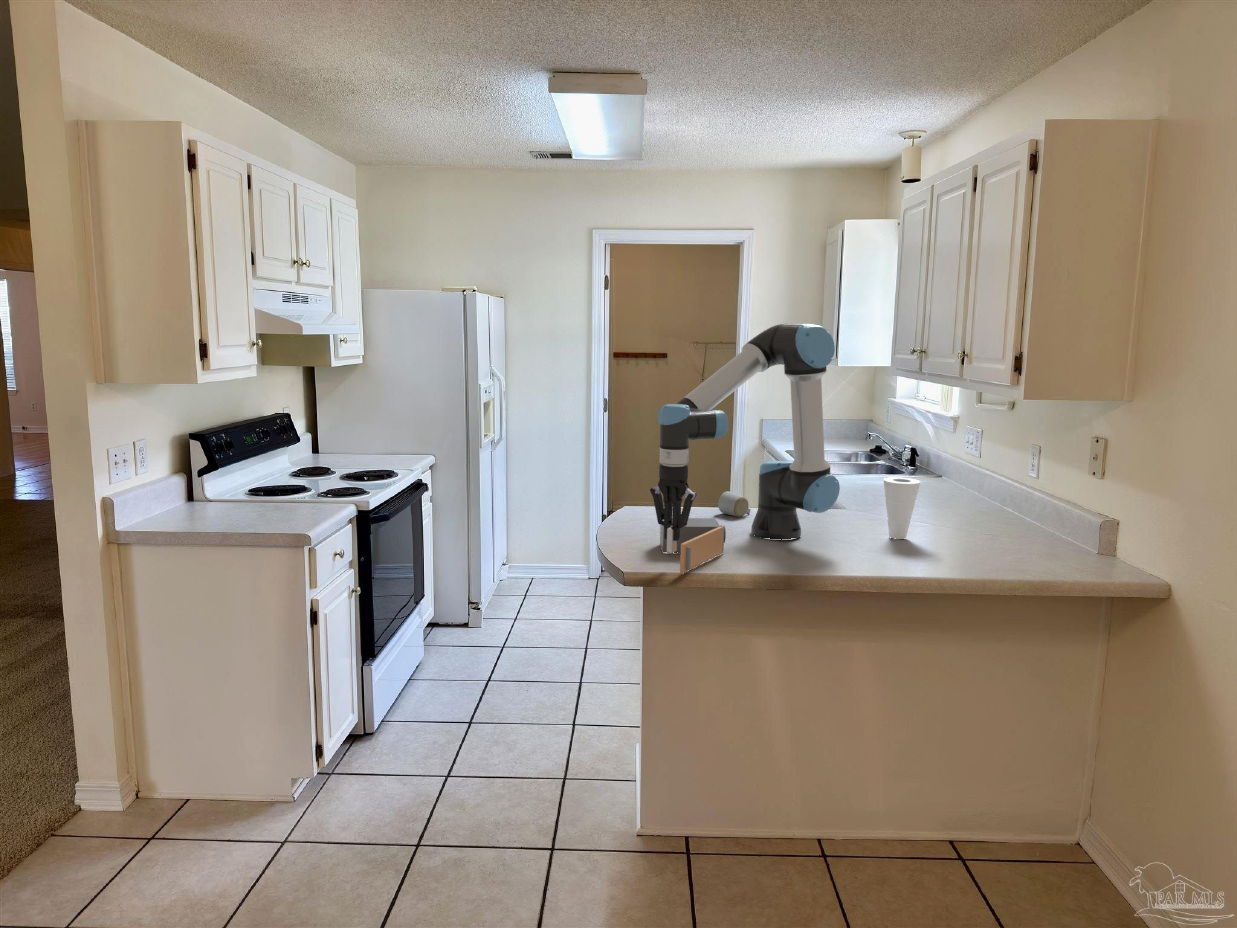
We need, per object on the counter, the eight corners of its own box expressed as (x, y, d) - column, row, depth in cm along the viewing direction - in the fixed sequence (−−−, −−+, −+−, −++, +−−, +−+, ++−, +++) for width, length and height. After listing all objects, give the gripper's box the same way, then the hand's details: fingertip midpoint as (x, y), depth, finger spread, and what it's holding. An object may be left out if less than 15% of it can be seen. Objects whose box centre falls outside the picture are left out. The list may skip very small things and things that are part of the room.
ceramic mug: (734, 519, 277) (736, 496, 276) (717, 514, 284) (718, 492, 282) (756, 515, 284) (757, 493, 283) (738, 510, 290) (739, 489, 289)
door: (720, 553, 236) (721, 525, 234) (726, 554, 235) (728, 526, 233) (679, 573, 216) (680, 543, 215) (686, 575, 215) (687, 545, 214)
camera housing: (720, 544, 246) (721, 515, 244) (726, 554, 236) (727, 524, 234) (659, 544, 245) (660, 515, 243) (662, 554, 235) (663, 523, 234)
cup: (901, 532, 263) (905, 476, 260) (923, 541, 253) (928, 483, 250) (872, 534, 260) (876, 477, 257) (893, 543, 250) (897, 484, 247)
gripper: (644, 463, 217) (643, 550, 221) (689, 468, 210) (686, 559, 214) (659, 459, 223) (657, 544, 228) (702, 464, 216) (700, 552, 221)
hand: (671, 551), depth 221 cm, fingers closed
